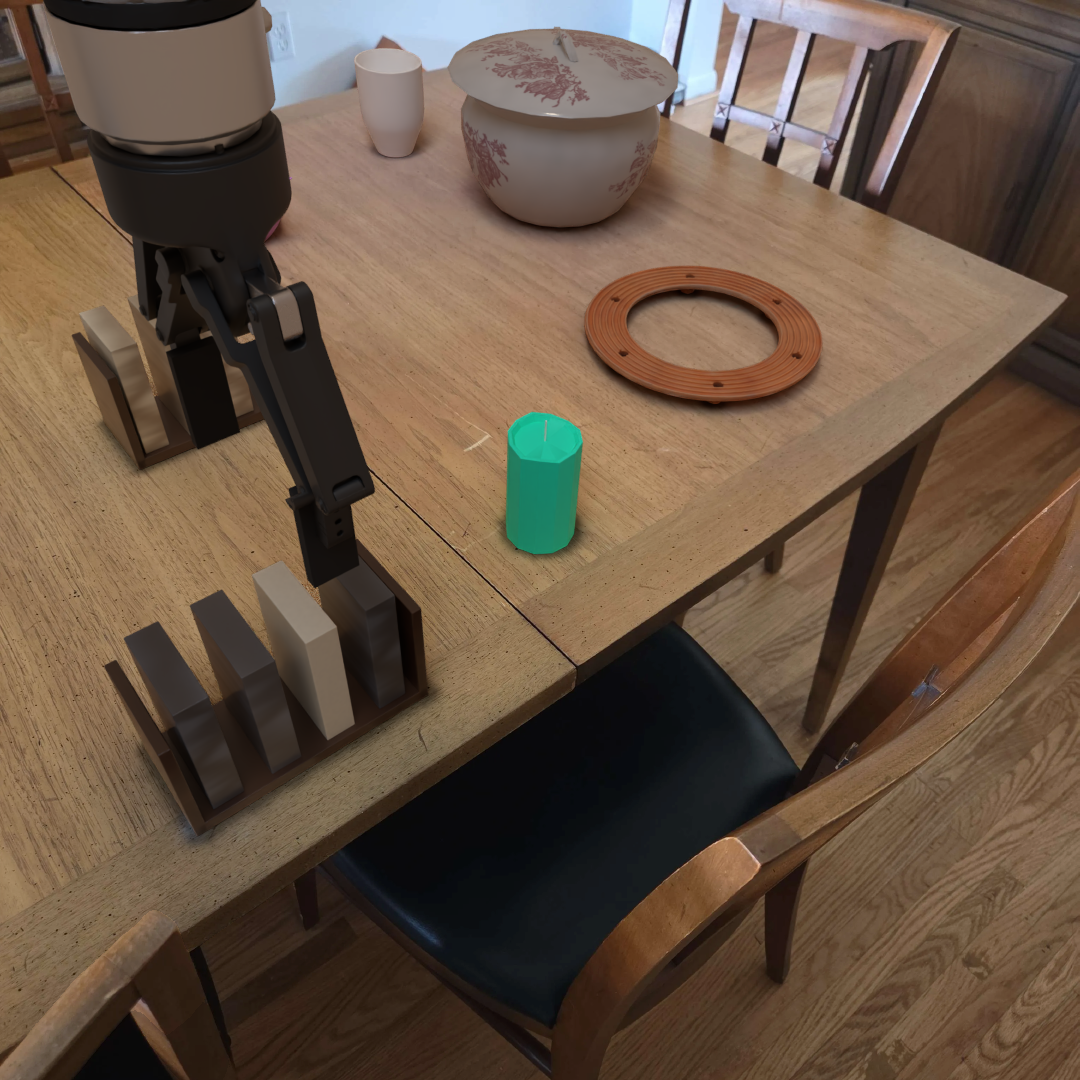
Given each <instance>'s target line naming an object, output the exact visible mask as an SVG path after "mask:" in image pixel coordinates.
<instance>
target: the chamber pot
mask: <svg viewBox="0 0 1080 1080" xmlns="http://www.w3.org/2000/svg"><path fill="white" fill-rule="evenodd" d="M447 71H448V74H449V77H450V79H451V82H452V83H453V84H454V85H456V86H457V87H458V88H459V89H460V90H462V91H463V92H464V93H465V94H467V95H466V96H465V98H464V101H463V103H462V105H461V107H460V120H461V121H460V126H461V129H460V130H461V134H462V138H463V143H464V148H465V152H466V157H467V160H468V164H469V166H470V170H471V173H472V174H473V176H474V177H475V179H476V180H477V182H478V184H479V185H480V186H481V188H482V190H483V191H484V193H485V194H486V196H487V198H488V199H489V200H490V201H491V202H492V203H493V204H494V205H495V206H496V207H497V208H499V209H500V210H501V211H502V212H503V213H504V214H506V215H508V216H510V217H512V218H514V219H516V220H518V221H520V222H524V223H528V224H532V225H536V226H542V227H550V228H551V227H552V228H573V227H574V228H575V227H584V226H588V225H591V224H597V223H600V222H602V221H604V220H606V219H608V218H610V217H611V216H613V215H614V214H616V213H617V212H618V211H620V209H621V208H622V207H623V206H624V205H625V204H626V203H627V202H628V200H629V199H630V198H631V197H632V196H633V194H634V193H635V192H636V191H637V189H638V188H639V186H640V185H641V184H642V183H643V181H644V180H645V179H646V178H647V177H648V174H649V171H650V168H651V165H652V162H653V160H654V157H655V153H656V151H657V148H658V141H659V133H660V127H661V111H660V109H659V106H658V105H660V104H662V103H664V102H665V101H666V100H667V99H668V98H670V96H671V95H672V94H673V93H674V92H675V91H676V90H678V88H679V73H678V72H677V70H676V69H675V67H673V65H672V64H671V63H670V62H669V60H668V59H667V58H666V57H665V56H663V55H661V54H660V53H658V52H657V51H655V50H653V49H651V48H649V47H648V46H645V45H642V44H640V43H637V42H634V41H632V40H629V39H625V38H622V37H619V36H615V35H610V34H605V33H600V32H595V31H589V30H583V29H582V30H581V29H570V28H562V27H561V26H554V27H553V28H529V29H522V30H521V29H520V30H514V31H508V32H507V31H506V32H502V33H495V34H492V35H489V36H485V37H483V38H479V39H476V40H473V41H471V42H470V43H468V44H467V45H465V46H463V47H462V48H460V49H459V50H457V51H455V53H454V54H453V56H452V58H451V59H450V62H449V63H448V66H447Z"/></svg>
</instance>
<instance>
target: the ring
mask: <svg viewBox="0 0 1080 1080" xmlns="http://www.w3.org/2000/svg"><path fill="white" fill-rule="evenodd" d="M678 290H679V291H680V292H681V293H683V294H687V295H690V294H692V293H694V292H695V290H699V291H701V290H702V291H710V292H715V293H720V294H726V295H728V296H732V297H734V298H738V299H740V300H743V301H744V302H746V303H749V304H751V305H752V306H754V307H755V308H757V309H758V310H760V311H762V313H764V316H765V317H766V318H767V319H769V320H771V322H772V323H773V325H774V326H775V328H776V331H777V334H778V343H777V346H776V348H775V350H774V351H773V352H772V353H771V354H769V356H768V357H766V358H764V359H763V360H761V361H759V362H756V363H753V364H750V365H747V366H745V367H739V368H732V369H720V370H717V369H716V370H715V369H714V370H713V369H711V370H710V369H699V368H692V367H687V366H683V365H678V364H675V363H672V362H669V361H666V360H665V359H661V358H660V357H658V356H656V355H654V354H652V353H650V352H649V351H648V350H646V349H645V348H644V347H642V346H641V345H640V344H639V343H638V342H637V341H636V340H635V339H634V337H632V335H631V333H630V331H629V329H628V326H627V320H628V319H627V318H628V314H629V312H630V310H631V309H632V308H633V307H634V306H635V305H637V304H638V303H639V302H641V301H642V300H645V299H646V298H649V297H651V296H654V295H657V294H660V293H661V294H662V293H665V292H670V291H671V292H672V291H678ZM583 325H584V326H583V327H584V333H585V336H586V338H587V341H588V343H589V344H590V347H591V348H592V349H593V351H594V352H595V354H596V355H597V356H598V357H599V358H600V359H601V360H602V362H603V363H605V364H606V365H607V366H608V367H609V368H611V369H612V370H614V371H615V372H616V373H617V374H619V375H621V376H622V377H624V378H625V379H628V380H630V381H631V382H633V383H635V384H638V385H639V386H642V387H644V388H646V389H649V390H652V391H653V392H658V393H661V394H663V395H664V394H665V395H668V396H673V397H676V398H680V399H681V398H682V399H688V400H694V401H695V400H696V401H702V402H703V401H704V402H708V403H710V404H712V405H717V404H720V403H722V402H737V401H748V400H753V399H759V398H762V397H763V398H764V397H766V396H771V395H774V394H776V393H780V392H781V391H785V390H786V389H789V388H791V387H792V386H794V385H796V384H797V383H798V382H800V381H802V380H803V379H804V378H805V377H806V376H807V375H808V374H809V373H811V371H813V370H814V368H815V366H817V364H818V362H819V360H820V358H821V355H822V350H823V344H824V342H823V341H824V340H823V335H822V331H821V330H822V329H821V328H820V326H819V324H818V322H817V320H816V319H815V317H814V316H813V314H812V312H811V311H809V310H808V309H807V308H806V307H805V305H803V304H802V303H801V302H800V301H799V300H798V299H796V298H795V297H794V296H792V295H791V294H789V292H786V291H785V290H784V289H782V288H780V287H778V286H776V285H774V284H772V283H770V282H768V281H765V280H763V279H761V278H758V277H755V276H752V275H750V274H746V273H744V272H743V273H742V272H739V271H735V270H731V269H725V268H721V267H714V266H705V265H667V266H658V267H651V268H647V269H643V270H637V271H634V272H631V273H628V274H626V275H623V276H620V277H618V278H617V279H615V280H613V281H611V282H609V283H607V284H606V285H605V286H604V287H602V288H601V289H600V290H599V291H598V292H597V293H596V294H595V295H594V296H593V297H592V298H591V300H590V302H588V305H587V307H586V310H585V313H584V323H583Z"/></svg>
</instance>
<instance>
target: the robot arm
mask: <svg viewBox="0 0 1080 1080" xmlns="http://www.w3.org/2000/svg"><path fill="white" fill-rule="evenodd" d="M42 5H43V9H44V13H45V16H46V20H47V22H48V26H49V29H50V32H51V35H52V39H53V42H54V45H55V48H56V52H57V55H58V58H59V61H60V65H61V68H62V72H63V74H64V75H63V76H64V77H65V81H66V83H67V84H66V85H67V88H68V91H69V94H70V97H71V100H72V104H73V107H74V111H75V113H76V114H77V117H78V119H79V121H80V122H82V123H83V124H84V125H86V126H87V127H88V128H90V130H89V131H88V133H87V137H86V142H87V147H88V151H89V153H90V157H91V160H92V165H93V166H94V170H95V173H96V176H97V179H98V180H97V181H98V182H99V186H100V189H101V193H102V195H103V199H104V202H105V206H106V209H107V212H108V214H109V216H110V218H111V219H112V221H113V222H114V223H115V224H116V226H117V227H118V228H120V230H122V231H124V232H125V233H126V234H128V235H129V236H131V241H132V251H133V261H134V262H133V263H134V270H135V280H136V281H135V282H136V291H137V292H136V293H137V294H138V302H139V306H140V307H139V310H140V312H141V314H142V315H143V316H144V317H145V318H146V320H147V321H150V320H153V319H157V321H156V325H155V327H156V328H155V331H156V335H157V338H158V339H159V341H161V342H162V344H163V345H164V346H168V345H170V348H171V350H169V351H167V352H166V355H167V358H168V361H169V365H170V368H171V372H172V375H173V378H174V382H175V385H176V388H177V392H178V395H179V399H180V402H181V405H182V409H183V412H184V415H185V419H186V422H187V426H188V429H189V432H190V436H191V439H192V442H193V444H194V445H195V446H196V447H195V448H196V449H197V450H200V449H204V448H206V447H209V446H210V445H213V444H216V443H218V442H220V441H223V440H226V439H227V438H229V437H232V436H235V435H238V434H239V433H241V429H239V425H238V421H237V417H236V413H235V409H234V405H233V401H232V397H231V393H230V389H229V385H228V380H227V376H226V372H225V368H224V364H223V360H222V357H223V359H224V360H225V362H226V363H227V364H228V365H230V366H232V367H236V368H239V369H240V370H241V371H242V373H243V375H244V377H245V379H246V381H247V384H248V386H249V388H250V390H251V392H252V394H253V396H254V398H255V400H256V403H257V405H258V407H259V409H260V411H261V413H262V415H263V417H264V419H263V420H264V422H265V424H266V425H267V428H268V429H269V432H270V434H271V436H272V438H273V441H274V442H275V445H276V447H277V449H278V451H279V454H280V455H281V458H282V460H283V461H284V464H285V466H286V468H287V470H288V473H289V474H290V476H291V478H292V481H293V483H294V485H293V486H291V487H289V488H287V489H288V494H289V497H287V498H285V499H284V501H285V503H286V505H287V506H288V507H289V509H290V510H291V511H292V513H293V518H294V523H295V528H296V532H297V533H296V534H297V537H298V538H297V539H298V542H299V547H300V552H301V556H302V562H303V565H304V571H305V576H306V580H307V581H308V583H309V584H310V585H311V586H312V587H313V588H314V589H316V588H318V586H320V585H322V584H324V583H326V582H328V581H330V580H332V579H334V578H336V577H338V576H340V575H342V574H343V573H345V572H347V571H349V570H351V569H353V568H355V567H357V566H359V565H360V564H359V557H358V550H357V543H356V539H357V537H356V531H355V524H354V517H353V508H352V505H354V504H356V503H357V502H360V501H362V500H364V499H366V498H369V497H370V496H372V495H374V494H375V493H376V486H375V483H374V479H373V477H372V475H371V471H370V469H369V466H368V464H367V461H366V457H365V455H364V453H363V449H362V446H361V444H360V440H359V437H358V435H357V433H356V429H355V427H354V424H353V421H352V418H351V415H350V412H349V409H348V406H347V403H346V401H345V399H344V396H343V393H342V390H341V387H340V384H339V381H338V378H337V376H336V373H335V370H334V367H333V364H332V361H331V359H330V356H329V354H328V350H327V347H326V344H325V342H324V339H323V335H322V330H321V325H320V321H319V316H318V311H317V307H316V302H315V298H314V293H313V291H312V290H311V288H310V286H309V285H308V283H306V282H305V281H304V280H300V281H298V282H295V283H292V284H289V285H287V286H282V285H281V283H282V275H281V272H280V270H279V267H278V265H277V263H276V261H275V259H274V256H273V255H272V253H271V251H270V250H269V249H268V248H267V246H266V244H265V242H266V240H265V239H266V237H267V235H268V233H269V231H270V230H271V229H272V227H273V226H274V225H275V224H276V223H277V221H278V220H280V219H281V220H282V218H283V217H284V215H285V214H286V213H287V211H288V210H289V207H290V205H291V201H292V193H293V192H292V184H291V180H290V177H291V176H290V173H289V172H290V171H289V165H288V158H287V153H286V145H285V139H284V133H283V127H282V122H281V121H280V118H279V117H278V116H277V115H276V114H275V113H274V112H273V111H272V109H273V107H274V106H275V103H276V100H277V99H276V90H275V84H274V77H273V71H272V64H271V57H270V50H269V45H268V39H267V33H269V32H271V30H272V28H273V15H272V14H271V13H270V12H269V11H268V9H267V8H266V7H265V6H262V1H261V0H42ZM281 220H280V221H281ZM207 331H211V334H212V336H209V337H206V338H203V339H201V338H200V334H202V333H205V332H207ZM248 334H251V335H252V336H254V339H252V340H249V341H247V342H243V343H241V342H240V341H238V342H237V341H236V340H235V337H237V338H239V337H243V336H245V335H248ZM221 354H222V356H221Z"/></svg>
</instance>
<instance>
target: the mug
mask: <svg viewBox="0 0 1080 1080" xmlns="http://www.w3.org/2000/svg"><path fill="white" fill-rule="evenodd" d="M353 62H354V70H355V71H354V72H355V76H356V77H355V78H356V79H355V80H356V87H357V94H358V102H359V108H360V114H361V118H362V121H363V123H364V126H365V127H366V128H365V129H366V130H367V132H368V134H369V136H370V138H371V140H372V142H373V145H374V147H375V149H376V151H377V152H378V153H379V154H380V155H382V156H385V157H388V158H403V157H407V156H409V155H411V154H412V153H414V152H413V151H414V148H415V146H416V144H417V141H418V138H419V136H420V132H421V129H422V127H423V125H424V118H425V93H424V92H425V91H424V77H423V61H422V58H421V57H420V56H419V55H417V54H416V53H413V52H411V51H408V50H405V49H399V48H390V47H381V48H379V47H377V48H371V49H366V50H363V51H361V52H359V53H357V54H356V55H355V56H354V58H353Z"/></svg>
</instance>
